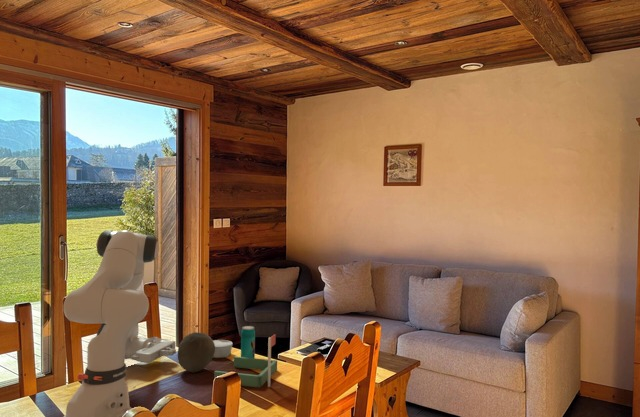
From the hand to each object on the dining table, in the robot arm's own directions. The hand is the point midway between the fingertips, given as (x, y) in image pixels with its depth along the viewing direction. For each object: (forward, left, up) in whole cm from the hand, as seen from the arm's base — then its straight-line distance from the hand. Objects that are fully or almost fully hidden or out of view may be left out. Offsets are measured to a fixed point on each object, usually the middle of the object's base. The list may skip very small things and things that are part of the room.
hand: (174, 352), depth 202 cm
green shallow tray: (0, -33, -6) cm, 34 cm away
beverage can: (+15, -26, -7) cm, 31 cm away
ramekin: (+22, -10, -7) cm, 25 cm away
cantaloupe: (0, -10, -7) cm, 12 cm away
